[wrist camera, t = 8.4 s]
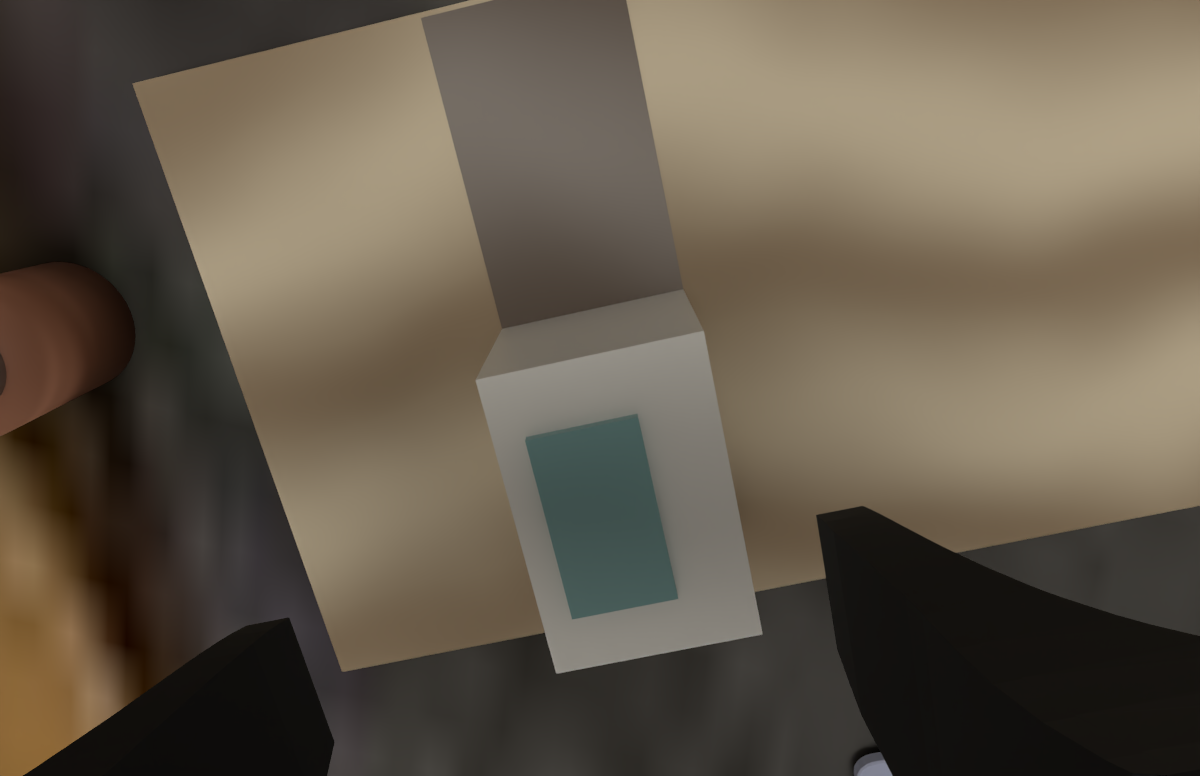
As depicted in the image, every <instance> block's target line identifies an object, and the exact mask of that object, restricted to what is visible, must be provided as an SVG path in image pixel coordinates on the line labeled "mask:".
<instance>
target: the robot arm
mask: <svg viewBox="0 0 1200 776" xmlns="http://www.w3.org/2000/svg"><path fill="white" fill-rule="evenodd" d="M816 518H817V524H818V530H819V537H820V543H821V549H822V555H823V562H824V568H825V574H826V581H827V587H828V593H829V600H830V606H831V612H832V618H833V625H834V631H835V637H836V644H837V649H838V652H839V655H840V658H841V661H842V663H843V666H844V669H845V672H846V674H847V677H848V680H849V683H850V686H851V688H852V691H853V694H854V696H855V699H856V702H857V704H858V707H859V709H860V712H861V715H862V717H863V719H864V721H865V723H866V725H867V727H868V729H869V731H870V733H871V735H872V737H873V738H874V740H875V742H876V744H877V746H878V748H879V750H880V752H878V753H872V754H868V755H865V756H863V757H861V758H860V759H859V760H858V761H857V762H856V764H855V766H854V776H1200V636H1197V635H1192V634H1188V633H1184V632H1180V631H1175V630H1171V629H1167V628H1163V627H1158V626H1154V625H1150V624H1147V623H1143V622H1139V621H1136V620H1132V619H1128V618H1125V617H1121V616H1118V615H1114V614H1111V613H1108V612H1105V611H1102V610H1099V609H1096V608H1093V607H1089V606H1086V605H1083V604H1080V603H1077V602H1074V601H1071V600H1068V599H1065V598H1062V597H1059V596H1056V595H1053V594H1051V593H1048V592H1045V591H1042V590H1040V589H1037V588H1035V587H1032V586H1030V585H1027V584H1025V583H1022V582H1020V581H1018V580H1015V579H1013V578H1010V577H1008V576H1006V575H1003V574H1001V573H998V572H996V571H993V570H991V569H989V568H987V567H985V566H982V565H980V564H978V563H976V562H974V561H971V560H969V559H967V558H965V557H963V556H961V555H959V554H957V553H955V552H953V551H951V550H949V549H947V548H945V547H943V546H940V545H938V544H937V543H935V542H933V541H931V540H929V539H927V538H925V537H923V536H921V535H919V534H917V533H915V532H913V531H911V530H910V529H908V528H906V527H904V526H902V525H900V524H898V523H896V522H894V521H893V520H891V519H889V518H887V517H885V516H883V515H881V514H879V513H877V512H875V511H873V510H871V509H869V508H867V507H864V506H859V507H854V508H849V509H844V510H839V511H834V512H829V513H823V514H818V515H816ZM333 746H334V740H333V737H332V734H331V731H330V729H329V726H328V723H327V720H326V718H325V715H324V712H323V710H322V707H321V704H320V701H319V699H318V696H317V693H316V690H315V688H314V685H313V682H312V679H311V677H310V674H309V671H308V668H307V666H306V663H305V660H304V657H303V655H302V652H301V649H300V646H299V644H298V641H297V638H296V635H295V633H294V630H293V627H292V624H291V622H290V619H289V618H284V619H279V620H274V621H269V622H264V623H259V624H253V625H248V626H245V627H243V628H241V629H240V630H238V631H236V632H234V633H232V634H230V635H229V636H227V637H225V638H224V639H222V640H220V641H219V642H217V643H216V644H214V645H213V646H211V647H210V648H208V649H207V650H205V651H204V652H202V653H201V654H199V655H198V656H196V657H195V658H193V659H192V660H190V661H189V662H188V663H186V664H185V665H183V666H182V667H180V668H179V669H178V670H176V671H175V672H173V673H172V674H171V675H169V676H168V677H166V678H165V679H163V680H162V681H161V682H159V683H158V684H156V685H155V686H154V687H152V688H151V689H149V690H148V691H147V692H145V693H144V694H142V695H141V696H140V697H138V698H137V699H135V700H134V701H133V702H131V703H130V704H128V705H127V706H126V707H124V708H123V709H121V710H120V711H119V712H117V713H116V714H114V715H113V716H111V717H110V718H109V719H107V720H106V721H104V722H103V723H101V724H100V725H98V726H97V727H95V728H94V729H92V730H91V731H89V732H88V733H86V734H85V735H83V736H82V737H80V738H79V739H77V740H76V741H74V742H73V743H71V744H70V745H69V746H67V747H66V748H64V749H63V750H61V751H60V752H58V753H57V754H55V755H54V756H52V757H51V758H49V759H48V760H46V761H45V762H43V763H42V764H40V765H39V766H37V767H36V768H34V769H33V770H31V771H30V772H28V773H26V774H25V775H23V776H327V773H328V769H329V764H330V759H331V755H332V750H333Z"/></svg>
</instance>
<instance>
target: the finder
mask: <svg viewBox="0 0 1200 776" xmlns="http://www.w3.org/2000/svg"><path fill="white" fill-rule="evenodd" d="M476 384H477V388H478V391H479V395H480V398H481V402H482V406H483V409H484V413H485V417H486V420H487V424H488V427H489V431H490V435H491V438H492V442H493V446H494V449H495V453H496V457H497V460H498V464H499V467H500V471H501V475H502V478H503V482H504V486H505V489H506V493H507V497H508V500H509V504H510V507H511V511H512V515H513V518H514V522H515V526H516V529H517V533H518V536H519V540H520V544H521V547H522V551H523V555H524V558H525V562H526V566H527V569H528V573H529V576H530V580H531V584H532V587H533V591H534V595H535V598H536V602H537V606H538V609H539V613H540V616H541V620H542V624H543V627H544V631H545V635H546V638H547V642H548V645H549V649H550V653H551V656H552V660H553V664H554V667H555V671H556V674H558V673H563V672H568V671H573V670H579V669H584V668H589V667H594V666H600V665H605V664H610V663H615V662H621V661H626V660H631V659H636V658H642V657H647V656H652V655H657V654H663V653H668V652H673V651H678V650H684V649H689V648H694V647H699V646H705V645H710V644H715V643H720V642H726V641H731V640H736V639H741V638H747V637H752V636H757V635H762V629H761V624H760V618H759V613H758V608H757V603H756V598H755V593H754V587H753V582H752V577H751V572H750V567H749V562H748V556H747V551H746V546H745V541H744V536H743V531H742V525H741V520H740V515H739V510H738V505H737V500H736V495H735V489H734V484H733V479H732V474H731V469H730V464H729V458H728V453H727V448H726V443H725V438H724V433H723V427H722V422H721V417H720V412H719V407H718V402H717V396H716V391H715V386H714V381H713V376H712V371H711V366H710V360H709V355H708V350H707V345H706V340H705V335H704V330H703V328H702V326H701V324H700V322H699V320H698V318H697V316H696V314H695V312H694V310H693V308H692V306H691V304H690V302H689V300H688V298H687V296H686V294H685V292H684V290H683V289H682V290H677V291H673V292H668V293H664V294H659V295H655V296H650V297H645V298H641V299H636V300H632V301H627V302H623V303H618V304H613V305H609V306H604V307H600V308H595V309H591V310H586V311H582V312H577V313H572V314H568V315H563V316H559V317H554V318H550V319H545V320H540V321H536V322H531V323H527V324H522V325H518V326H513V327H509V328H504V329H502V330H501V332H500V334H499V336H498V338H497V339H496V341H495V343H494V345H493V347H492V349H491V351H490V353H489V355H488V357H487V359H486V361H485V363H484V364H483V366H482V368H481V370H480V372H479V374H478V376H477V378H476Z"/></svg>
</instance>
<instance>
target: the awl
mask: <svg viewBox="0 0 1200 776" xmlns="http://www.w3.org/2000/svg"><path fill="white" fill-rule="evenodd" d="M134 345H135V327H134V322H133V318H132V315H131V312H130V310H129V308H128V305H127V304H126V302H125V300H124V299H123V297H122V296H121V294H120V293H119V292H118V290H117V289H116V288H115V287H114V286H113V285H112V284H111V283H110V282H109V281H107V280H106V279H105V278H104V277H102V276H101V275H99V274H98V273H96V272H94V271H92V270H90V269H88V268H86V267H83V266H81V265H78V264H73V263H68V262H50V263H44V264H40V265H35V266H31V267H27V268H23V269H19V270H14V271H10V272H6V273H2V274H0V436H1V435H3V434H6V433H8V432H10V431H12V430H14V429H16V428H18V427H20V426H22V425H24V424H26V423H28V422H30V421H32V420H34V419H36V418H38V417H40V416H42V415H44V414H46V413H48V412H50V411H51V410H53V409H55V408H57V407H59V406H61V405H63V404H65V403H67V402H69V401H71V400H73V399H75V398H77V397H79V396H81V395H83V394H85V393H87V392H89V391H91V390H93V389H95V388H97V387H99V386H101V385H103V384H105V383H107V382H109V381H111V380H112V379H114V378H115V377H116V376H118V375H119V374H120V373H121V372H122V371H123V369H124V368H125V367H126V366H127V364H128V362H129V361H130V358H131V356H132V353H133V350H134Z"/></svg>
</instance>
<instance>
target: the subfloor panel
mask: <svg viewBox="0 0 1200 776" xmlns="http://www.w3.org/2000/svg"><path fill="white" fill-rule="evenodd" d="M133 87H134V90H135V92H136V95H137V98H138V101H139V104H140V106H141V109H142V112H143V115H144V118H145V120H146V123H147V126H148V129H149V132H150V134H151V137H152V140H153V143H154V146H155V148H156V151H157V154H158V157H159V160H160V162H161V165H162V168H163V171H164V174H165V176H166V179H167V182H168V185H169V188H170V190H171V193H172V196H173V199H174V202H175V205H176V207H177V210H178V213H179V216H180V219H181V221H182V224H183V227H184V230H185V233H186V235H187V238H188V241H189V244H190V247H191V249H192V252H193V255H194V258H195V261H196V263H197V266H198V269H199V272H200V275H201V277H202V280H203V283H204V286H205V289H206V291H207V294H208V297H209V300H210V303H211V305H212V308H213V311H214V314H215V317H216V319H217V322H218V325H219V328H220V331H221V334H222V336H223V339H224V342H225V345H226V348H227V350H228V353H229V356H230V359H231V362H232V364H233V367H234V370H235V373H236V376H237V378H238V381H239V384H240V387H241V390H242V392H243V395H244V398H245V401H246V404H247V406H248V409H249V412H250V415H251V418H252V420H253V423H254V426H255V429H256V432H257V434H258V437H259V440H260V443H261V446H262V449H263V451H264V454H265V457H266V460H267V463H268V465H269V468H270V471H271V474H272V477H273V479H274V482H275V485H276V488H277V491H278V493H279V496H280V499H281V502H282V505H283V507H284V510H285V513H286V516H287V519H288V521H289V524H290V527H291V530H292V533H293V535H294V538H295V541H296V544H297V547H298V549H299V552H300V555H301V558H302V561H303V564H304V566H305V569H306V572H307V575H308V578H309V580H310V583H311V586H312V589H313V592H314V594H315V597H316V600H317V603H318V606H319V608H320V611H321V614H322V617H323V620H324V622H325V625H326V628H327V631H328V634H329V636H330V639H331V642H332V645H333V648H334V650H335V653H336V656H337V659H338V662H339V664H340V667H341V670H342V672H345V671H350V670H355V669H360V668H365V667H370V666H375V665H381V664H386V663H391V662H396V661H401V660H406V659H412V658H417V657H422V656H427V655H432V654H437V653H442V652H448V651H453V650H458V649H463V648H468V647H473V646H479V645H484V644H489V643H494V642H499V641H504V640H510V639H515V638H520V637H525V636H530V635H535V634H540V633H545V631H544V627H543V624H542V620H541V616H540V613H539V609H538V606H537V602H536V598H535V595H534V591H533V587H532V584H531V580H530V576H529V573H528V569H527V566H526V562H525V558H524V555H523V551H522V547H521V544H520V540H519V536H518V533H517V529H516V526H515V522H514V518H513V515H512V511H511V507H510V504H509V500H508V497H507V493H506V489H505V486H504V482H503V478H502V475H501V471H500V467H499V464H498V460H497V457H496V453H495V449H494V446H493V442H492V438H491V435H490V431H489V427H488V424H487V420H486V417H485V413H484V409H483V406H482V402H481V398H480V395H479V391H478V388H477V384H476V378H477V376H478V374H479V372H480V370H481V368H482V366H483V364H484V363H485V361H486V359H487V357H488V355H489V353H490V351H491V349H492V347H493V345H494V343H495V341H496V339H497V338H498V336H499V334H500V332H501V330H502V329H504V328H509V327H513V326H518V325H522V324H527V323H531V322H536V321H540V320H545V319H550V318H554V317H559V316H563V315H568V314H572V313H577V312H582V311H586V310H591V309H595V308H600V307H604V306H609V305H613V304H618V303H623V302H627V301H632V300H636V299H641V298H645V297H650V296H655V295H659V294H664V293H668V292H673V291H677V290H682V289H683V290H684V292H685V294H686V296H687V298H688V300H689V302H690V304H691V306H692V308H693V310H694V312H695V314H696V316H697V318H698V320H699V322H700V324H701V326H702V328H703V330H704V335H705V340H706V345H707V350H708V355H709V360H710V366H711V371H712V376H713V381H714V386H715V391H716V396H717V402H718V407H719V412H720V417H721V422H722V427H723V433H724V438H725V443H726V448H727V453H728V458H729V464H730V469H731V474H732V479H733V484H734V489H735V495H736V500H737V505H738V510H739V515H740V520H741V525H742V531H743V536H744V541H745V546H746V551H747V556H748V562H749V567H750V572H751V577H752V582H753V587H754V592H757V591H762V590H767V589H772V588H778V587H783V586H788V585H793V584H798V583H803V582H809V581H814V580H819V579H824V578H826V574H825V568H824V562H823V555H822V549H821V543H820V537H819V530H818V524H817V518H816V515H818V514H823V513H829V512H834V511H839V510H844V509H849V508H854V507H859V506H864V507H867V508H869V509H871V510H873V511H875V512H877V513H879V514H881V515H883V516H885V517H887V518H889V519H891V520H893V521H894V522H896V523H898V524H900V525H902V526H904V527H906V528H908V529H910V530H911V531H913V532H915V533H917V534H919V535H921V536H923V537H925V538H927V539H929V540H931V541H933V542H935V543H937V544H938V545H940V546H943V547H945V548H947V549H949V550H951V551H953V552H955V553H958V552H963V551H968V550H974V549H979V548H984V547H989V546H994V545H999V544H1004V543H1010V542H1015V541H1020V540H1025V539H1030V538H1035V537H1041V536H1046V535H1051V534H1056V533H1061V532H1066V531H1072V530H1077V529H1082V528H1087V527H1092V526H1097V525H1102V524H1108V523H1113V522H1118V521H1123V520H1128V519H1133V518H1139V517H1144V516H1149V515H1154V514H1159V513H1164V512H1169V511H1175V510H1180V509H1185V508H1190V507H1195V506H1200V0H470V1H465V2H461V3H457V4H453V5H449V6H445V7H441V8H437V9H433V10H429V11H425V12H421V13H417V14H413V15H409V16H405V17H400V18H396V19H392V20H388V21H384V22H380V23H376V24H372V25H368V26H364V27H360V28H356V29H352V30H348V31H344V32H340V33H336V34H331V35H327V36H323V37H319V38H315V39H311V40H307V41H303V42H299V43H295V44H291V45H287V46H283V47H279V48H275V49H271V50H267V51H262V52H258V53H254V54H250V55H246V56H242V57H238V58H234V59H230V60H226V61H222V62H218V63H214V64H210V65H206V66H202V67H198V68H193V69H189V70H185V71H181V72H177V73H173V74H169V75H165V76H161V77H157V78H153V79H149V80H145V81H141V82H137V83H133Z"/></svg>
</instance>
